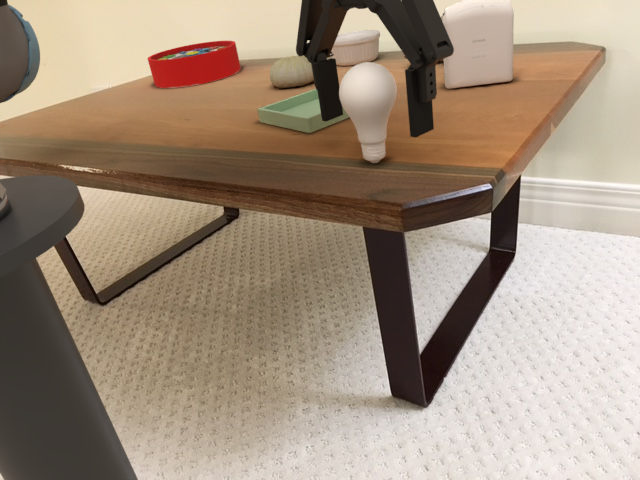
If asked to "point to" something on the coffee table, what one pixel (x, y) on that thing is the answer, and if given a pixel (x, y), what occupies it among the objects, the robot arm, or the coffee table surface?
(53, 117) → the coffee table surface
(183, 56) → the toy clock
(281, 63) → the sea urchin shell
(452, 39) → the photo printer
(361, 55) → the ramekin
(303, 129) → the tray
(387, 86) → the lightbulb
